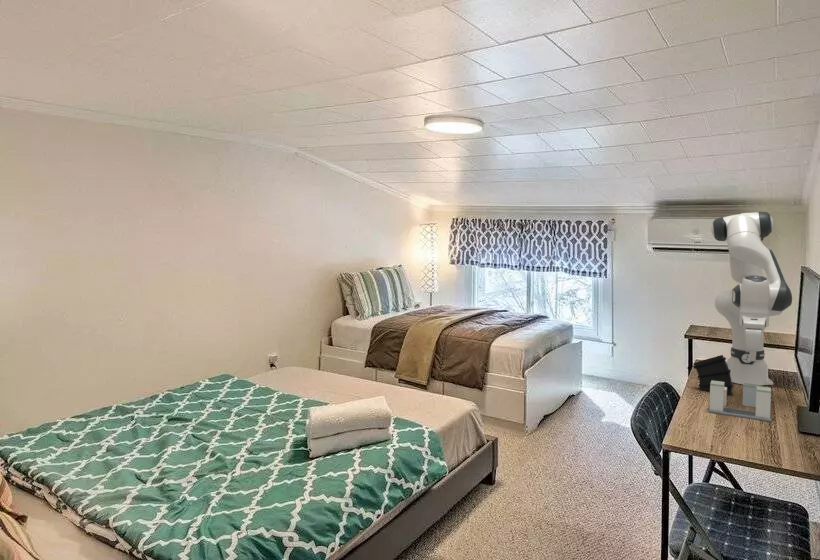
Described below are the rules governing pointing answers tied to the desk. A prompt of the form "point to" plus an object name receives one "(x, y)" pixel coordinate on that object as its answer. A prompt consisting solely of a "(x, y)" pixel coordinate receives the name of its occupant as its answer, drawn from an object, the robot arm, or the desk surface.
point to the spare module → (725, 395)
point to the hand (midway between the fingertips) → (752, 358)
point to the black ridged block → (713, 373)
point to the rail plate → (740, 413)
